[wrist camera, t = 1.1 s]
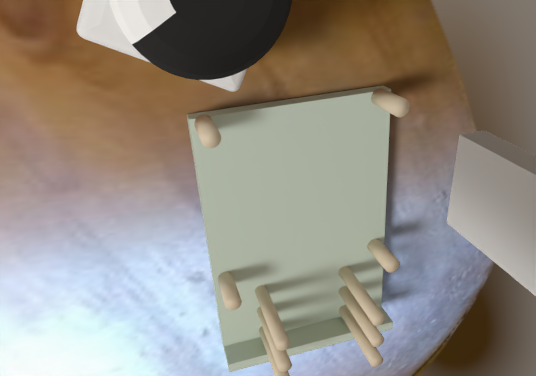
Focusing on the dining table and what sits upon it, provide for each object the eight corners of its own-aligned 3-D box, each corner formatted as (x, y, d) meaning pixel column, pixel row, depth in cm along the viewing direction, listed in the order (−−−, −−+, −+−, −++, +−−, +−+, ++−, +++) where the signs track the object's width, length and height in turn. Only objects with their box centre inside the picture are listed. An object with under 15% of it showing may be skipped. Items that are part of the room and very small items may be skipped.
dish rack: (186, 111, 30) (201, 148, 24) (383, 82, 33) (442, 109, 27) (222, 343, 39) (240, 415, 33) (374, 304, 42) (418, 364, 36)
